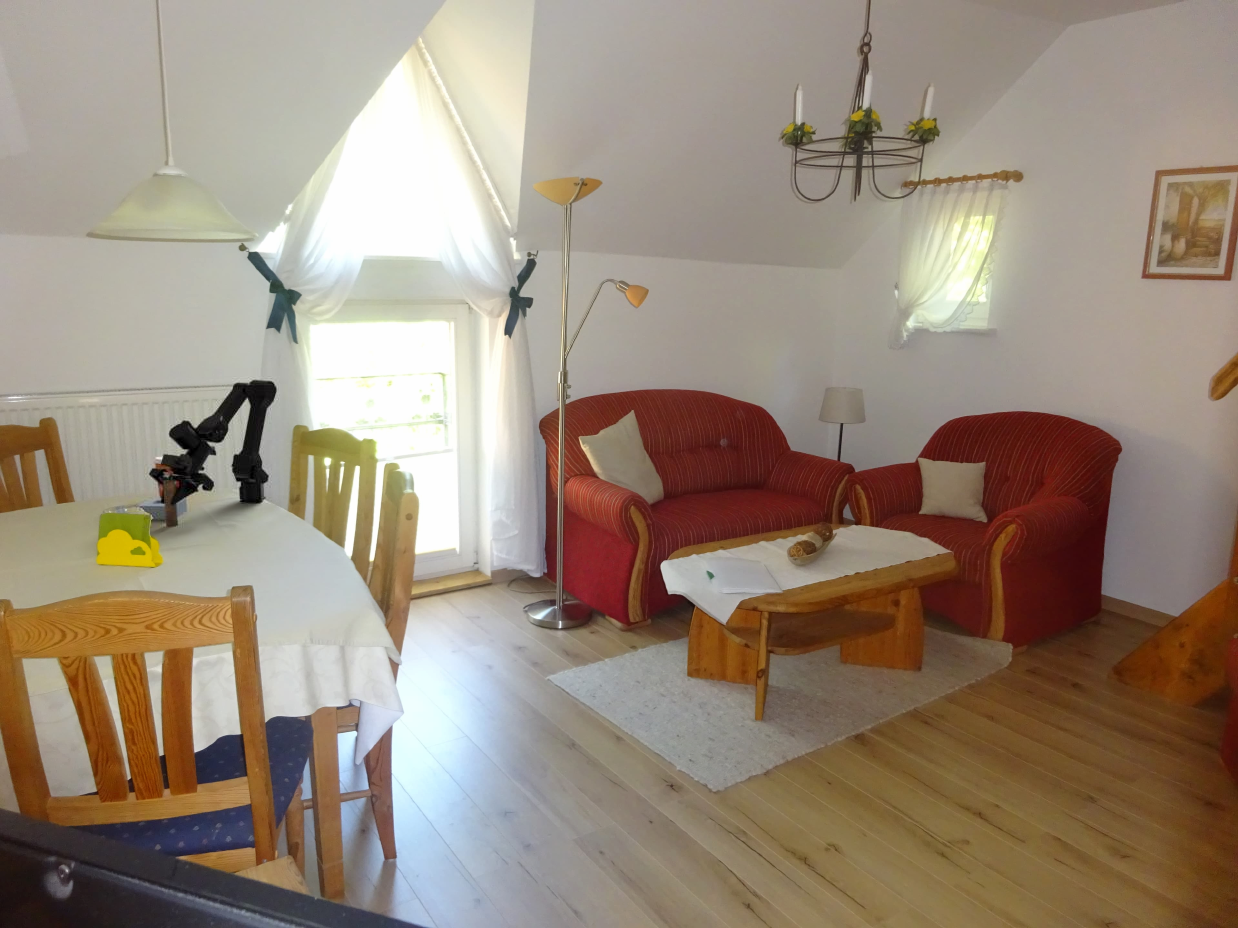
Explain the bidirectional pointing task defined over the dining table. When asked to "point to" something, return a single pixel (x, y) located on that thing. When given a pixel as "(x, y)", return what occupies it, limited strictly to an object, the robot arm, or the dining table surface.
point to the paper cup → (158, 465)
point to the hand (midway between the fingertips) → (166, 503)
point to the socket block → (161, 507)
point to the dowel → (169, 509)
